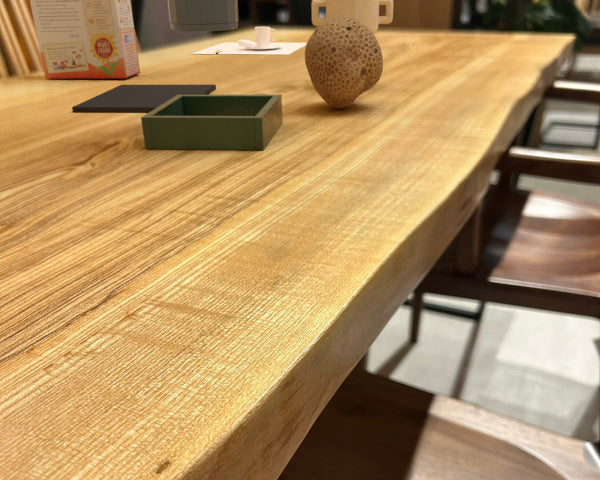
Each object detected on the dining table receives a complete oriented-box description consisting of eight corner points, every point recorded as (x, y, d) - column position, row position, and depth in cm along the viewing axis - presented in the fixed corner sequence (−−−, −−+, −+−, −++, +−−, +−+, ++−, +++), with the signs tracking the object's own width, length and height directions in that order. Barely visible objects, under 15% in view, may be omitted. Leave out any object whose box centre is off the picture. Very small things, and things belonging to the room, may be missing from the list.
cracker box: (142, 74, 104) (122, -75, 94) (126, 80, 99) (104, -77, 89) (63, 73, 107) (36, -71, 97) (44, 79, 101) (13, -73, 92)
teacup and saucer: (234, 51, 128) (233, 29, 126) (246, 46, 135) (245, 25, 133) (277, 51, 126) (276, 29, 125) (286, 46, 133) (286, 25, 131)
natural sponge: (351, 97, 82) (352, 12, 77) (397, 108, 75) (402, 16, 71) (292, 107, 78) (289, 17, 73) (335, 119, 71) (336, 21, 66)
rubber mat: (72, 112, 78) (71, 107, 78) (121, 88, 92) (121, 84, 92) (183, 112, 76) (183, 107, 76) (216, 88, 90) (215, 84, 90)
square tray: (145, 149, 61) (140, 117, 60) (180, 122, 72) (177, 94, 70) (263, 150, 60) (262, 117, 59) (282, 122, 70) (281, 94, 69)
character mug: (386, 80, 93) (389, -19, 87) (394, 89, 87) (398, -18, 81) (311, 83, 93) (310, -17, 87) (314, 91, 86) (312, -16, 80)
